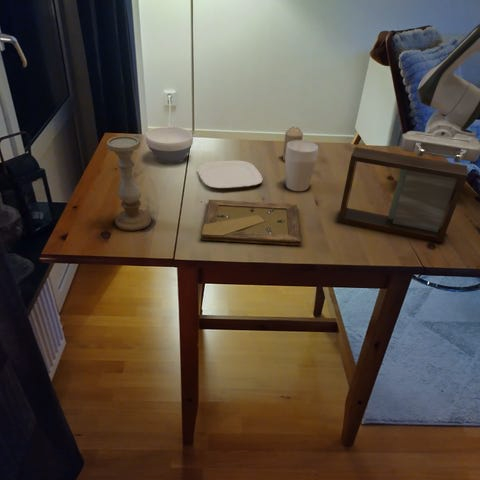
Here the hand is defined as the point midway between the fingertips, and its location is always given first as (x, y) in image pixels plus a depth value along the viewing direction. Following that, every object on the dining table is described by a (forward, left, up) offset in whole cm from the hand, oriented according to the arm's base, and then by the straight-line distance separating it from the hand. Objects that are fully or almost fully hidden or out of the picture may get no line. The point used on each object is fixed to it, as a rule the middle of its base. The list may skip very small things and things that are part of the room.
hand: (439, 156), depth 120 cm
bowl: (+74, -26, -14) cm, 80 cm away
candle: (+35, -29, -14) cm, 48 cm away
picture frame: (+49, +14, -14) cm, 53 cm away
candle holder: (+79, +15, -14) cm, 81 cm away
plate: (+55, -13, -14) cm, 58 cm away
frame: (+13, +13, -14) cm, 23 cm away
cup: (+35, -9, -14) cm, 39 cm away
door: (+8, +11, -12) cm, 18 cm away
